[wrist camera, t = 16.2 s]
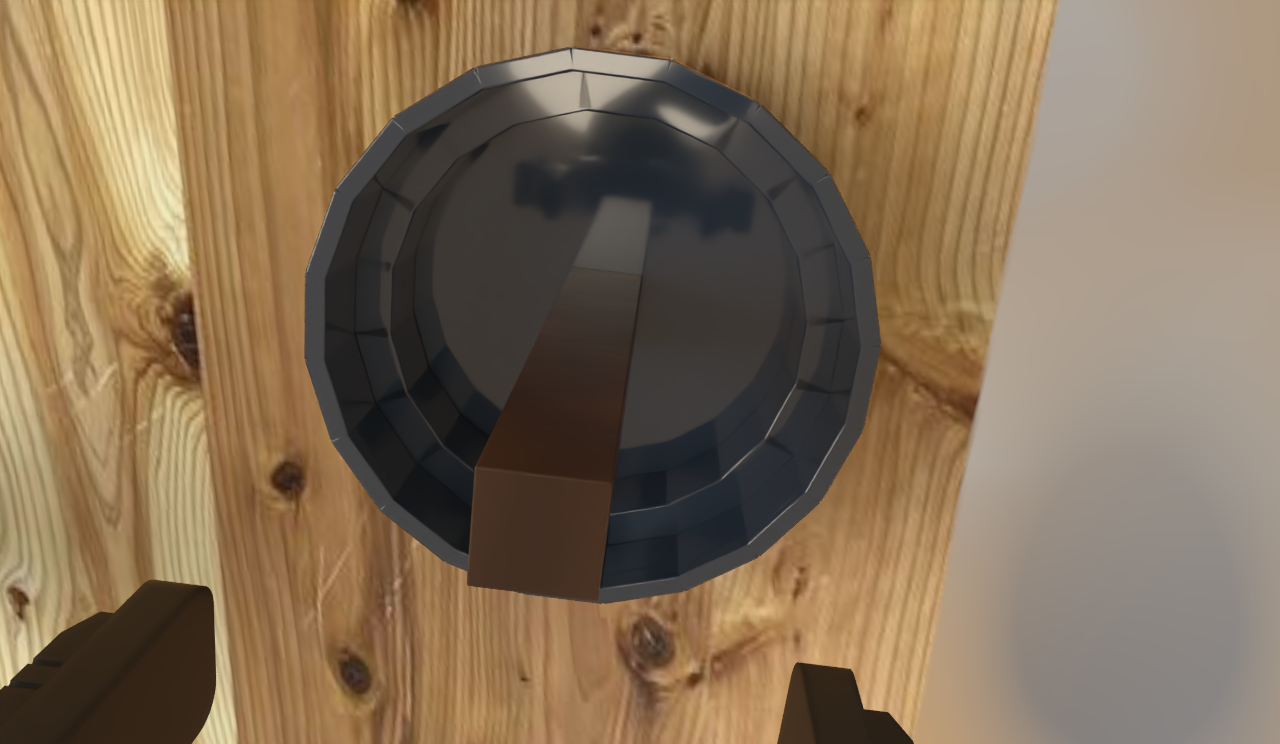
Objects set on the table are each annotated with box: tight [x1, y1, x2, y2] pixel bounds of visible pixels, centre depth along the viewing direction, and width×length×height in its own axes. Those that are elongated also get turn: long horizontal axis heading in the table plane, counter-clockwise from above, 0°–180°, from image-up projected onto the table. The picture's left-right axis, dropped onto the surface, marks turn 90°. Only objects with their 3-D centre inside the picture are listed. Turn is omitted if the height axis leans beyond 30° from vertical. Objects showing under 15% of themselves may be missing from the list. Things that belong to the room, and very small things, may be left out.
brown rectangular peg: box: [467, 267, 642, 601], centre depth 24 cm, size 2×2×16 cm
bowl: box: [305, 47, 881, 604], centre depth 30 cm, size 16×16×6 cm
